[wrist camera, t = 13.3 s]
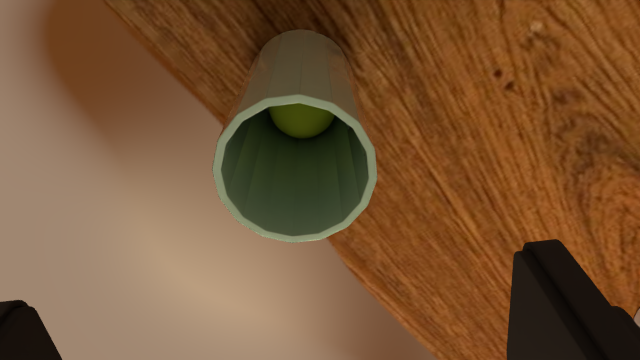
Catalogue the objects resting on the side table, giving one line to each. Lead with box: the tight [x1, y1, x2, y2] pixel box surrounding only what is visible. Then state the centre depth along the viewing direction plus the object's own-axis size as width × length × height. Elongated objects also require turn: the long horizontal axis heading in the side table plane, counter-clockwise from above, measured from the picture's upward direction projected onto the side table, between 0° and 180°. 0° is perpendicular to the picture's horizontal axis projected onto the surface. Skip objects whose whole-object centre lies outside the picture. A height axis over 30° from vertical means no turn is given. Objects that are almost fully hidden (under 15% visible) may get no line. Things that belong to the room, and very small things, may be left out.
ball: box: [269, 103, 335, 138], centre depth 26 cm, size 4×4×4 cm
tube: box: [212, 29, 377, 243], centre depth 22 cm, size 6×6×12 cm
